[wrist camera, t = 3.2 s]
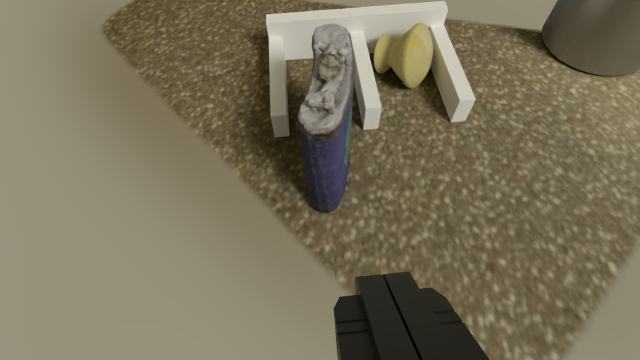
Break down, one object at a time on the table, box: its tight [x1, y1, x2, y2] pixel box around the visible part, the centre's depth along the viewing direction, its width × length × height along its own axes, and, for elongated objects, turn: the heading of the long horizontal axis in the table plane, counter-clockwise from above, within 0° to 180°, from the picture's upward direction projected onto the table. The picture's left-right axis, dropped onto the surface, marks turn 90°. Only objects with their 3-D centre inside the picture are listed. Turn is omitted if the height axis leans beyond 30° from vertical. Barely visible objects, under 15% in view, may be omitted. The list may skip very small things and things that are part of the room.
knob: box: [374, 23, 433, 88], centre depth 30 cm, size 5×5×5 cm
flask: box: [297, 24, 355, 214], centre depth 23 cm, size 9×3×11 cm, turn 174°
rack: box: [266, 1, 476, 137], centre depth 30 cm, size 16×10×4 cm, turn 95°
